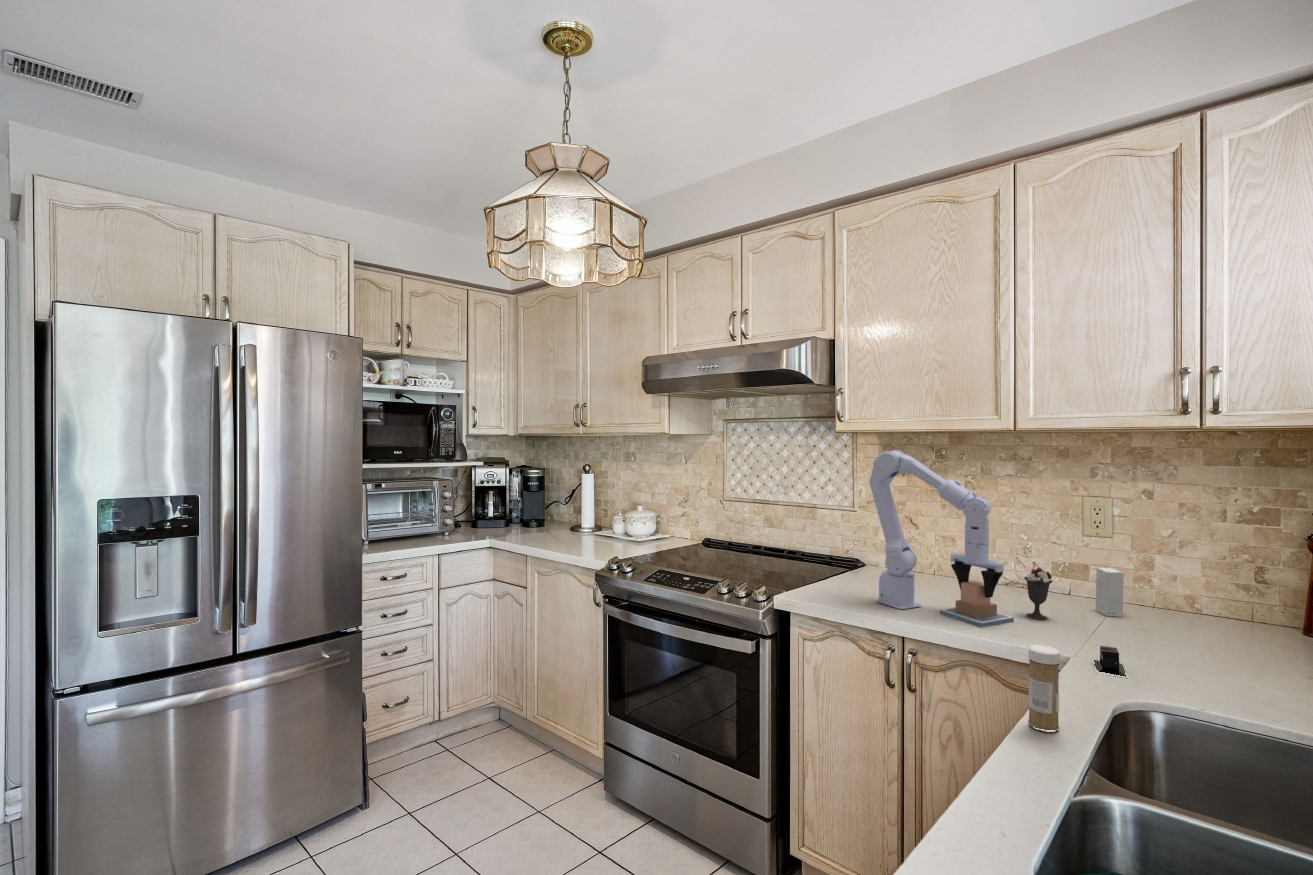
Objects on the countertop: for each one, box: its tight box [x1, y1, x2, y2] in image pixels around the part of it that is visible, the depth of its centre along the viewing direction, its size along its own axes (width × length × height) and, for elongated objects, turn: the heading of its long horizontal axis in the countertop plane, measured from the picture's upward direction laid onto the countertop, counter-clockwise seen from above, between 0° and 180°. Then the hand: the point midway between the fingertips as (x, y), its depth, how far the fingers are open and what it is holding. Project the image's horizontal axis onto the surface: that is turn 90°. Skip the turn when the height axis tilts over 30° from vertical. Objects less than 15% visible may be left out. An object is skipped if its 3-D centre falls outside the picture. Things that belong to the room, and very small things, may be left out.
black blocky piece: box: [1093, 645, 1126, 677], centre depth 133 cm, size 12×7×5 cm, turn 151°
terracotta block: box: [960, 580, 991, 606], centre depth 169 cm, size 5×5×5 cm
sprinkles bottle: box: [1027, 644, 1061, 730], centre depth 107 cm, size 5×5×14 cm
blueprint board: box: [939, 599, 1015, 628], centre depth 169 cm, size 13×12×4 cm
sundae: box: [1023, 561, 1053, 621], centre depth 169 cm, size 7×7×15 cm
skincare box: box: [1095, 567, 1124, 618], centre depth 173 cm, size 6×4×12 cm
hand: (976, 593), depth 169 cm, fingers open, 7 cm apart
